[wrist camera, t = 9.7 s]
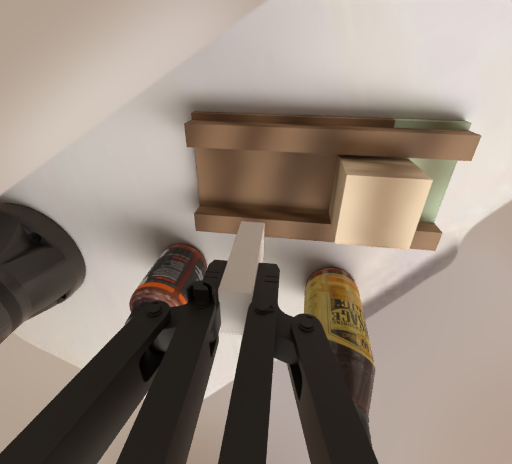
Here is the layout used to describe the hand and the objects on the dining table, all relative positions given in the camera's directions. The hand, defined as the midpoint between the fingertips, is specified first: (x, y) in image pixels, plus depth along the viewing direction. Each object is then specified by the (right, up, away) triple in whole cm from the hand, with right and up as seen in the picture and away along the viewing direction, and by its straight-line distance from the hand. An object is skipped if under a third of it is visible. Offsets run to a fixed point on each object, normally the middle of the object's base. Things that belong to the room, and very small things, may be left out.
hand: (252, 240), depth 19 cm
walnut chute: (+6, +6, +10) cm, 13 cm away
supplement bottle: (-9, -3, +18) cm, 20 cm away
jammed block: (+11, +5, +9) cm, 15 cm away
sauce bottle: (+9, -6, +17) cm, 20 cm away
